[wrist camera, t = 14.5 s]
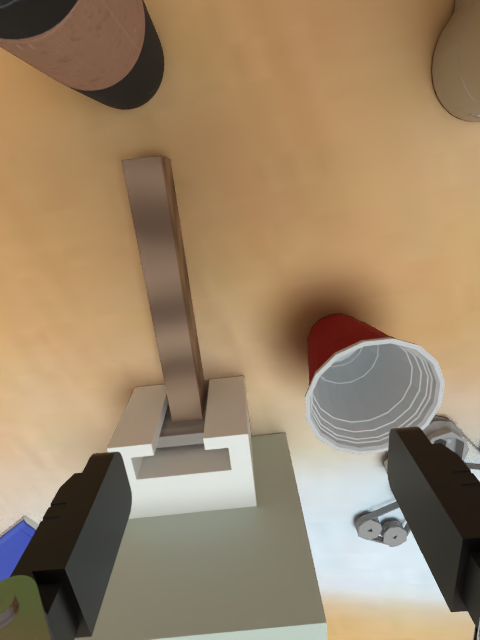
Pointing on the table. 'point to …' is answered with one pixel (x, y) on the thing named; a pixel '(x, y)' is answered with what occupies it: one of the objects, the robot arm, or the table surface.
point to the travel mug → (88, 46)
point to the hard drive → (15, 545)
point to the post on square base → (168, 297)
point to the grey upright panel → (209, 531)
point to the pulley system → (393, 530)
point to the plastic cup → (367, 385)
